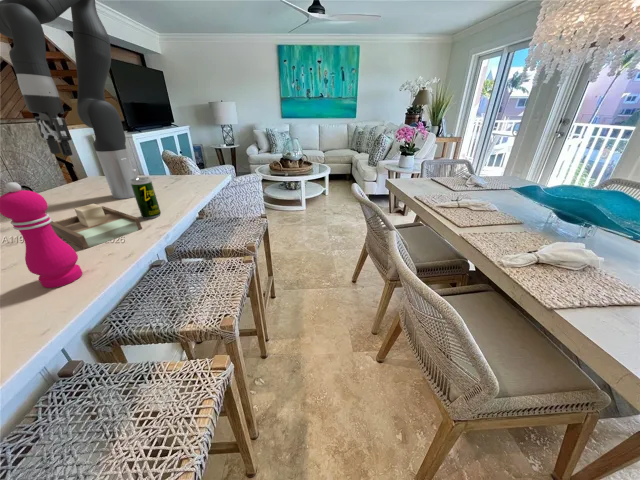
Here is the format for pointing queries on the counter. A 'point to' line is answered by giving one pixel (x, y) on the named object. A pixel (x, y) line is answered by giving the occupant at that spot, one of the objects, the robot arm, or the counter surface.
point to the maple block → (90, 215)
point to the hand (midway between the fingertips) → (61, 154)
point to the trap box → (96, 228)
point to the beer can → (145, 197)
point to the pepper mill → (40, 237)
